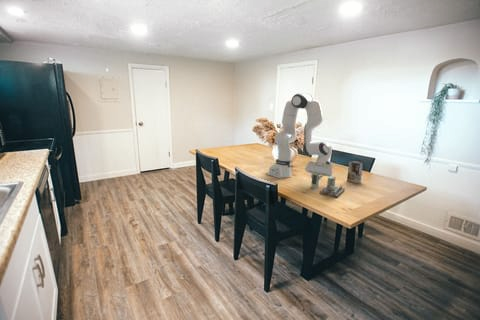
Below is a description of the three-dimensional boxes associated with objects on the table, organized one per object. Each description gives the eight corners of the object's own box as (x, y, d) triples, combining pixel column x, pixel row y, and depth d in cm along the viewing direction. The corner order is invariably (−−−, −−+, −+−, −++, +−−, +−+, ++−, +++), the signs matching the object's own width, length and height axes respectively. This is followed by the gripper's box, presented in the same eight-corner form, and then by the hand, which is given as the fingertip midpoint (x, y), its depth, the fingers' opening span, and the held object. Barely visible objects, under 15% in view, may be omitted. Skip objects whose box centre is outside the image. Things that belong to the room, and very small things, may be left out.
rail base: (319, 193, 175) (321, 177, 172) (328, 186, 189) (329, 171, 186) (336, 198, 168) (339, 180, 165) (344, 190, 182) (346, 174, 179)
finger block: (311, 187, 188) (312, 173, 185) (313, 185, 191) (314, 172, 188) (316, 188, 185) (317, 174, 183) (318, 186, 189) (319, 173, 186)
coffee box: (361, 181, 201) (363, 162, 197) (357, 183, 197) (360, 164, 193) (350, 178, 208) (352, 160, 204) (346, 180, 204) (348, 161, 200)
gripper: (307, 159, 195) (301, 173, 190) (333, 163, 183) (328, 179, 178) (309, 163, 200) (303, 177, 195) (335, 167, 188) (329, 183, 183)
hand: (315, 178), depth 186 cm, fingers closed on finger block, 4 cm apart
